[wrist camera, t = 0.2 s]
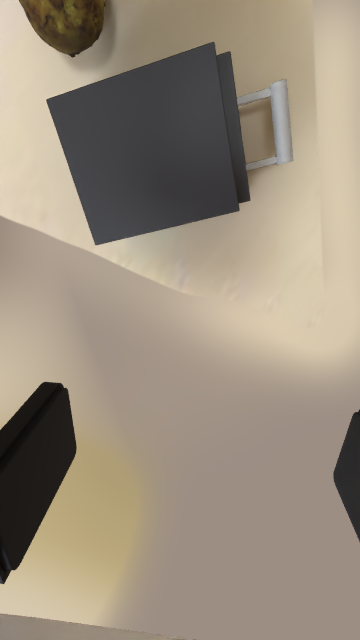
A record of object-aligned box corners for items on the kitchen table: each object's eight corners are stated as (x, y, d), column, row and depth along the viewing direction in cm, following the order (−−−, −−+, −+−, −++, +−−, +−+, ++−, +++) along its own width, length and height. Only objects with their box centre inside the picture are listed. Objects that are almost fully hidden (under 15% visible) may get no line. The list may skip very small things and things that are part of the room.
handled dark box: (273, 66, 29) (292, 29, 23) (284, 188, 34) (303, 187, 27) (104, 120, 32) (76, 102, 26) (133, 225, 37) (117, 233, 30)
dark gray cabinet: (212, 81, 31) (214, 40, 23) (232, 206, 36) (239, 210, 27) (86, 122, 33) (45, 99, 25) (120, 233, 38) (95, 245, 30)
